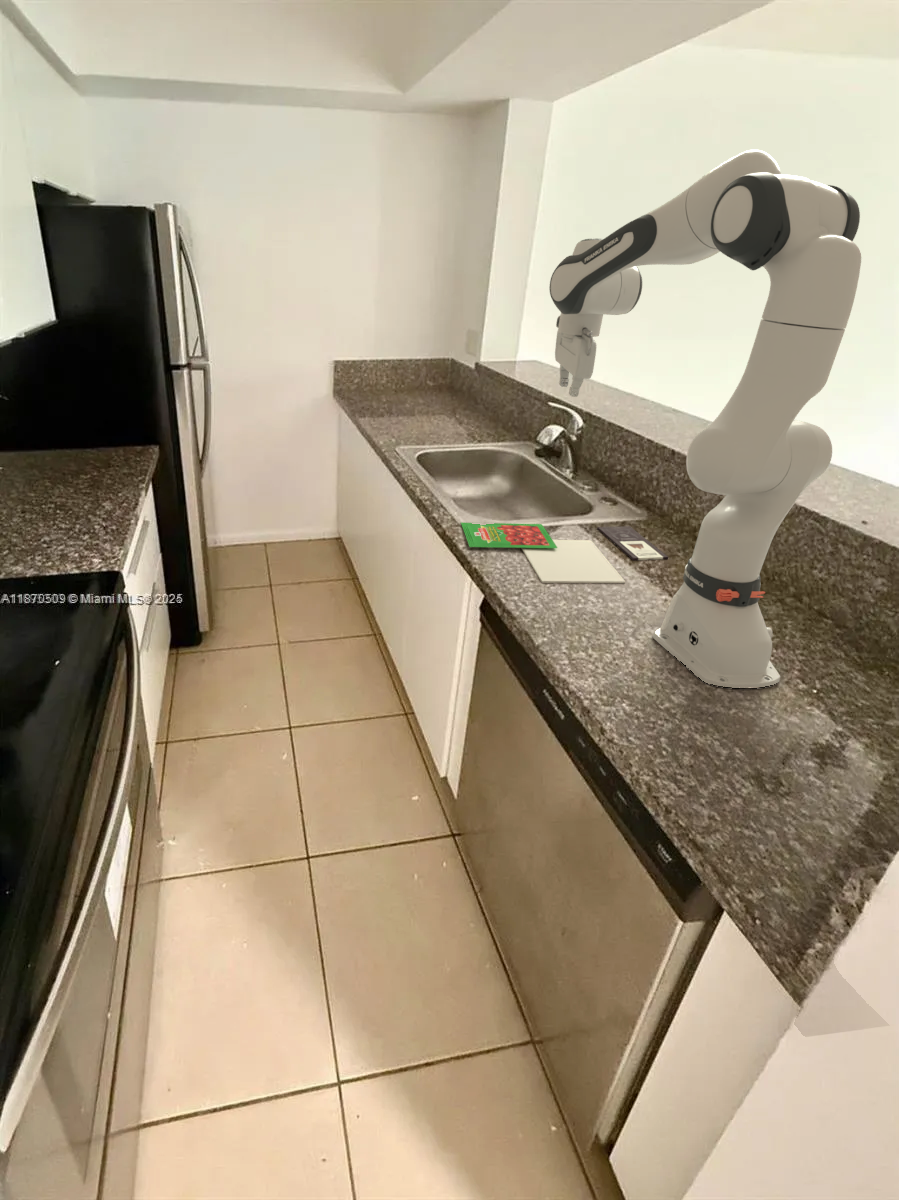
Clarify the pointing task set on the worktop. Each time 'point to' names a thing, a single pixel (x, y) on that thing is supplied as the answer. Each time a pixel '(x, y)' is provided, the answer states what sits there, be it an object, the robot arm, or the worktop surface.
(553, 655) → the worktop surface
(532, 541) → the tomato puree packet
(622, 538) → the chocolate bar
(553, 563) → the rubber mat
